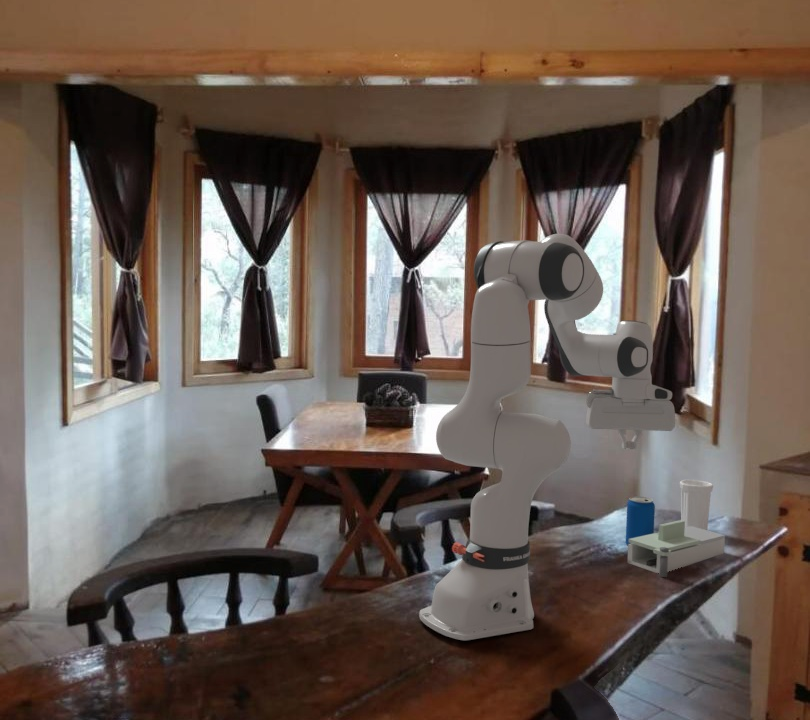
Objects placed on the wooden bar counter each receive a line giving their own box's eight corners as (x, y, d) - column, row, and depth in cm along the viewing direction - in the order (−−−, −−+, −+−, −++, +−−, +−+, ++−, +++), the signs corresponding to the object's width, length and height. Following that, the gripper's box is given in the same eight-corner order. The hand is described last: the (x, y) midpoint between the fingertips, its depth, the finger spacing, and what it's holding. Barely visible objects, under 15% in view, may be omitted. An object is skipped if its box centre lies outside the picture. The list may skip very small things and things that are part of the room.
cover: (664, 556, 160) (665, 537, 160) (624, 543, 169) (624, 524, 169) (707, 545, 169) (708, 527, 169) (666, 533, 178) (667, 515, 178)
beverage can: (658, 549, 181) (660, 500, 181) (639, 552, 178) (641, 503, 178) (639, 542, 187) (641, 495, 186) (619, 545, 184) (621, 497, 183)
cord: (650, 566, 166) (650, 562, 166) (646, 565, 167) (646, 560, 167) (710, 550, 179) (710, 546, 179) (706, 549, 180) (707, 545, 180)
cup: (687, 531, 198) (689, 478, 197) (716, 538, 192) (719, 483, 191) (671, 536, 193) (673, 482, 192) (700, 544, 186) (703, 487, 186)
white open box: (664, 578, 161) (665, 554, 160) (623, 563, 170) (624, 541, 169) (730, 558, 175) (732, 537, 175) (690, 546, 184) (691, 526, 184)
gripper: (590, 390, 171) (588, 449, 171) (679, 392, 171) (676, 452, 172) (583, 387, 177) (581, 445, 178) (669, 390, 177) (666, 447, 178)
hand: (628, 448), depth 175 cm, fingers closed
